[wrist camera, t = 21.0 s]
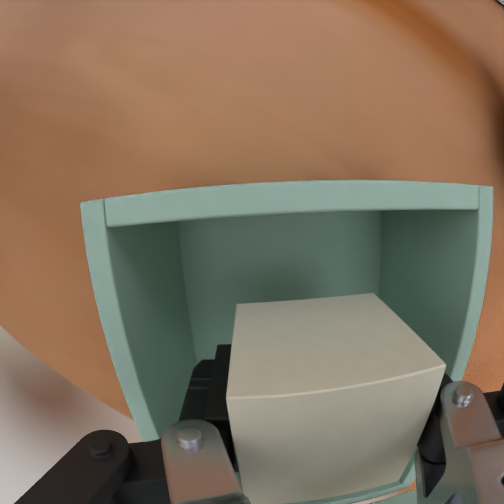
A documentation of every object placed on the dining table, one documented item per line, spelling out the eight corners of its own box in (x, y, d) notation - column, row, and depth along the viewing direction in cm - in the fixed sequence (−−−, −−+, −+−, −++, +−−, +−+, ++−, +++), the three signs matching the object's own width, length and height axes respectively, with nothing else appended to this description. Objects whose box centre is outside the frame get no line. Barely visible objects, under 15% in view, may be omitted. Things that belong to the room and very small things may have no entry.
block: (236, 303, 9) (225, 398, 5) (373, 292, 9) (447, 364, 5) (246, 408, 10) (244, 506, 6) (360, 396, 10) (398, 481, 6)
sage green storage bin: (164, 191, 16) (79, 202, 7) (387, 181, 15) (494, 186, 7) (199, 414, 19) (180, 512, 10) (368, 399, 19) (410, 486, 10)
